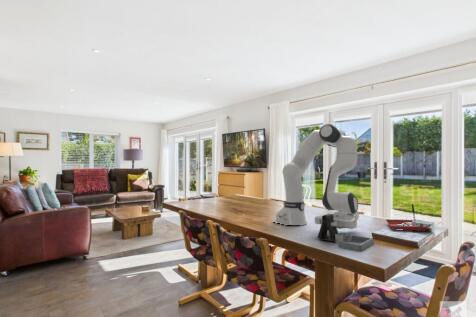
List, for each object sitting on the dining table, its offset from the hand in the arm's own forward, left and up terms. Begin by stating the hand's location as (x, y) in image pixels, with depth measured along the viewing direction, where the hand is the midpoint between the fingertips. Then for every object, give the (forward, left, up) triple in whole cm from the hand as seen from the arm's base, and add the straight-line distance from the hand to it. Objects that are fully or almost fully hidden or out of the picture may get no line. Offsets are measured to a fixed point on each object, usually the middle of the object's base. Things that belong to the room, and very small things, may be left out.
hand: (327, 224), depth 134 cm
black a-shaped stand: (0, +1, -7) cm, 8 cm away
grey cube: (+6, +1, -8) cm, 10 cm away
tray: (+13, +1, -8) cm, 15 cm away
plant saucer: (+21, +51, -9) cm, 56 cm away
